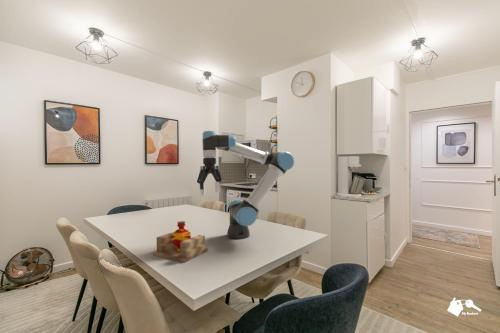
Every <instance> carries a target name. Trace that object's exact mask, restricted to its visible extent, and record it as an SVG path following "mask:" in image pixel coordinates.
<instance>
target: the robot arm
mask: <svg viewBox="0 0 500 333" xmlns="http://www.w3.org/2000/svg"><path fill="white" fill-rule="evenodd" d="M201 140H202V157H203V158H202V164H203V165H201V166H200V167H199V168H200V170H199V174H198V177H197V180H196V183H197V184H198V185H199V190H200V196H206V184H205V181H206V179H207V178H208V176H209V175H212V177H213V178H214V181H215V182H214V190H215V191H214V192H215V193H217V194H218V193H221V192H220V186H221V184H220V182H222V175H221V173H220V170H219V169H220V168H219V165H217V158H216V157H217V150H216V149H218V150H222V151H226V152H228V153H231V154H234V155H237V156H241V157H244V158H246V159H249V160H252V161H256V162H259V163H261V165H263V166H266V167H268V169H267V171H266V172H265V173H264V174H263V176H262V177H261V178H260V180H259V182H258V183H257V185H256V186H255V188H254V189H252V192H251V193H250V195H249V196H248V198H245V199H243V200H237V201H231V202H229V206H228V207H229V211H228V212H229V225H228V229H227V233H226V237H227V238H229V239H236V240H240V239H241V240H242V239H247V238H249V237H250V236H251V235H250V234H251V233H250V229H249V226H252V225H253V224H255V222H256V221H257V217H258V216H257V214H258V213H259V212H260V206H261V204H262V203H263V201H264V200H265V198H266V197H267V195H268V194H269V192H270V191H271V190H272V188H273V187H274V185H275V184H276V182H277V181H278V179H279V178H280V177H282V176H284V175H285V174H286V172H287V171H289V170H291V169H292V168H293V167H294V163H295V159H294V155H292V153H291V152H289V151H285V150H283V151H278V152H270V151H267V150H265V151H263V150H259V149H257V148H254V147H252V146H248V145H245V144H243V143H240V142H237V141H236V140H237V138H236V136H235V135H234V134H233V135H232V134H216V132H215V130H214V131H213V130H204V131H203V132H202V139H201Z"/></svg>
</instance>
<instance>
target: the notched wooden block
mask: <svg viewBox="0 0 500 333" xmlns="http://www.w3.org/2000/svg"><path fill="white" fill-rule="evenodd" d="M174 232H175V231H173V232H169V233H166V234H162V235H160V236H157V237H156V250H155V251H152V252H153V253H152V254H153V256H156V257H160V258H164V259H167V260H168V259H169V260H172V261H176V262H180V263H184V264H185V263H186V262H188V261H190V260H192V259H195V258H196V257H199V256H200V255H202V254H204V253H206V252H208V251H209V249H208V247H206V236H205V235H201V234H198V235H196V236H193V237H191V238H190V239H187V240H185V241H182V242H180V251H176V250H177V249H178V248H177V247H176V246H175V245H174V244H173V243H172V241H171V239H172V235H173V233H174Z"/></svg>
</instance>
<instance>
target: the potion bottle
mask: <svg viewBox="0 0 500 333" xmlns="http://www.w3.org/2000/svg"><path fill="white" fill-rule="evenodd" d="M176 226H177V227H178V229H175V231H173V232H174V233H173V235H172V239H171V241H172V243H173V244H174V245H175V246H176V247H177V248H178V249H177V250H176V251H180V242H182V241H185V240H187V239H190V238H192V236H191V232H190V230H189V229H186V228H185V227H186V221H183V220H181V221H177V224H176Z"/></svg>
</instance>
